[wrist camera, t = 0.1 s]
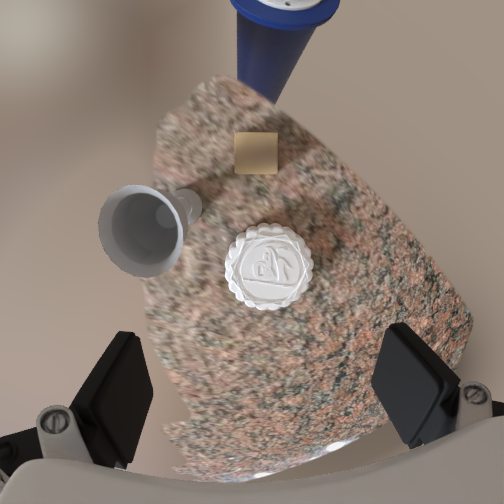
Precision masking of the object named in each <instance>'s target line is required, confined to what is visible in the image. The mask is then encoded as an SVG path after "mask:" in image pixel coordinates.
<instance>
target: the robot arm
mask: <svg viewBox="0 0 504 504" xmlns="http://www.w3.org/2000/svg"><path fill="white" fill-rule="evenodd" d="M258 1H259V2H261V3H263V4H265V5H268V6H271V7H273V8H278V9H282V10H294V11H298V10H305V9H309V8H312V7H314V6H316V5H317V4H319V3H320V2H321V0H258ZM459 382H460V379H459V378H458V376H457V375H456V374H455V373H454V372H453V371H452V370H451V369H450V368H449V367H448V366H447V365H446V364H445V363H444V361H443V360H442V359H441V358H440V357H439V356H438V355H437V354H436V353H435V352H434V351H433V350H432V349H431V348H430V347H429V346H428V345H427V344H426V343H425V342H424V341H423V340H422V339H421V338H420V337H419V336H418V335H417V334H416V333H415V332H414V331H413V330H412V329H411V328H410V327H409V326H408V325H407V324H406V323H404V322H400V323H394V324H391V325H390V326H389V328H387V329H386V331H385V334H384V338H383V342H382V345H381V349H380V353H379V356H378V359H377V363H376V366H375V369H374V373H373V376H372V379H371V385H372V388H373V390H374V391H375V393H376V395H377V397H378V398H379V400H380V402H381V403H382V405H383V407H384V409H385V410H386V412H387V414H388V416H389V418H390V419H391V421H392V423H393V425H394V426H395V428H396V430H397V432H398V434H399V435H400V437H401V439H402V441H403V442H404V443H405V444H408V446H409V448H410V449H413V448H416V447H418V446H421V445H422V444H424V445H423V446H421V447H418V448H416V449H413V450H411V451H408V452H405V453H402V454H400V455H397V456H394V457H391V458H388V459H385V460H382V461H378V462H375V463H372V464H368V465H364V466H361V467H357V468H353V469H348V470H344V471H340V472H335V473H330V474H325V475H319V476H313V477H306V478H299V479H291V480H282V481H270V482H250V483H217V482H198V481H186V480H177V479H168V478H162V477H155V476H148V475H142V474H137V473H132V472H127V471H123V470H118V469H114V467H117V468H122V469H126V468H127V464H128V463H132V461H133V458H134V455H135V451H136V448H137V445H138V442H139V439H140V435H141V432H142V429H143V426H144V423H145V419H146V416H147V413H148V410H149V407H150V404H151V401H152V398H153V387H152V384H151V380H150V377H149V373H148V369H147V366H146V362H145V358H144V354H143V350H142V346H141V342H140V338H139V337H138V336H135V333H133V332H125V331H119V332H118V333H117V334H116V336H115V337H114V339H113V340H112V341H111V343H110V344H109V346H108V347H107V349H106V350H105V352H104V353H103V355H102V357H101V358H100V359H99V361H98V362H97V364H96V365H95V367H94V368H93V370H92V371H91V373H90V374H89V376H88V378H87V379H86V381H85V382H84V384H83V385H82V387H81V388H80V390H79V392H78V393H77V395H76V396H75V398H74V400H73V401H72V403H71V405H70V407H69V408H67V407H64V406H61V405H54V406H49V407H47V408H45V409H44V410H42V411H41V412H40V414H39V415H38V417H37V420H36V427H34V428H31V429H28V430H24V431H21V432H18V433H14V434H10V435H7V436H3V437H1V438H0V504H504V403H502V402H497V401H492V398H491V393H490V391H489V390H488V388H487V387H486V386H485V385H483V384H481V383H478V382H467V383H465V384H463V385H462V387H461V388H460V387H459V386H458V384H459Z"/></svg>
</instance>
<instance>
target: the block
mask: <svg viewBox="0 0 504 504" xmlns="http://www.w3.org/2000/svg"><path fill="white" fill-rule="evenodd" d="M235 174H263V175H273V174H278V133H270V132H235Z"/></svg>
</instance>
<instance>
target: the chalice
mask: <svg viewBox="0 0 504 504" xmlns="http://www.w3.org/2000/svg"><path fill="white" fill-rule="evenodd" d="M201 212H202V201H201V199H200V197H199V196H198V194H197V193H195V192H194V191H193V190H190V189H179V190H176V191H175V192H173V193H172V194H171V193H169V192H166V191H164V190H161V189H151V188H148V187H146V186H142V185H129V186H126V187H123V188H120V189H118V190H116V191H115V192H114V193H113V194H112V195H110V196H109V197H108V198H107V200H106V202H105V203H104V205H103V207H102V209H101V212H100V216H99V221H98V227H99V237H100V240H101V243H102V246H103V248H104V251H105V252H106V254H107V255H108V256H109V258H110V259H111V261H112V262H113V263H114V264H115V265H117V266H118V267H119V268H120V269H121V270H123V271H125V272H127V273H129V274H131V275H133V276H138V277H145V278H149V277H154V276H159V275H161V274H163V273H164V272H166V271H167V270H169V269H171V268H172V266H173V265H174V263H175V262H176V261H177V259H178V258H179V256H180V252H181V249H182V245H183V241H184V240H185V238H186V235H187V232H188V225H189V224H192V223H194V222H195V221H197V219H198V218H199V217H200V215H201Z"/></svg>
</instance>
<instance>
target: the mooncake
mask: <svg viewBox="0 0 504 504" xmlns="http://www.w3.org/2000/svg"><path fill="white" fill-rule="evenodd" d="M310 257H311V250H310V249H309V248H308V247H307V246H306V245H305V241H304V239H303V238H301V237H300V236H299V235H298V234H296V233H295V232H294V231H293V230H292V229H291V228H289V227H282V226H281V225H280V224H278V223H272V224H271V225H269V224H267V223H261V224H259V225H258V226H257V227H256V226H250V227H248V228H247V230H246V232H243V233H240V234H238V236H237V237H236V241H235V242H233V243H232V244H231V245H230V247H229V253H228V254H227V256H226V261H225V267H226V272H225V278H226V280H227V281H229V289H230V290H231V291H232V292H234V293H236V298H237V299H238V300H240V301H245V304H246V305H247V306H249V307H257V308H258V309H259V310H266V309H268V308H269V309H270V310H277V309H278V308H280V306H281V307H287V306H289V305H290V304H291V302H292V301H296V300H298V299H299V298H300V297H301V293H302V292H305V291H306V290H307V289H308V282H309V281H310V280H311V279H312V277H313V273H312V271H311V270H312V269H313V266H314V262H313V260H312V259H311V258H310Z"/></svg>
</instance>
